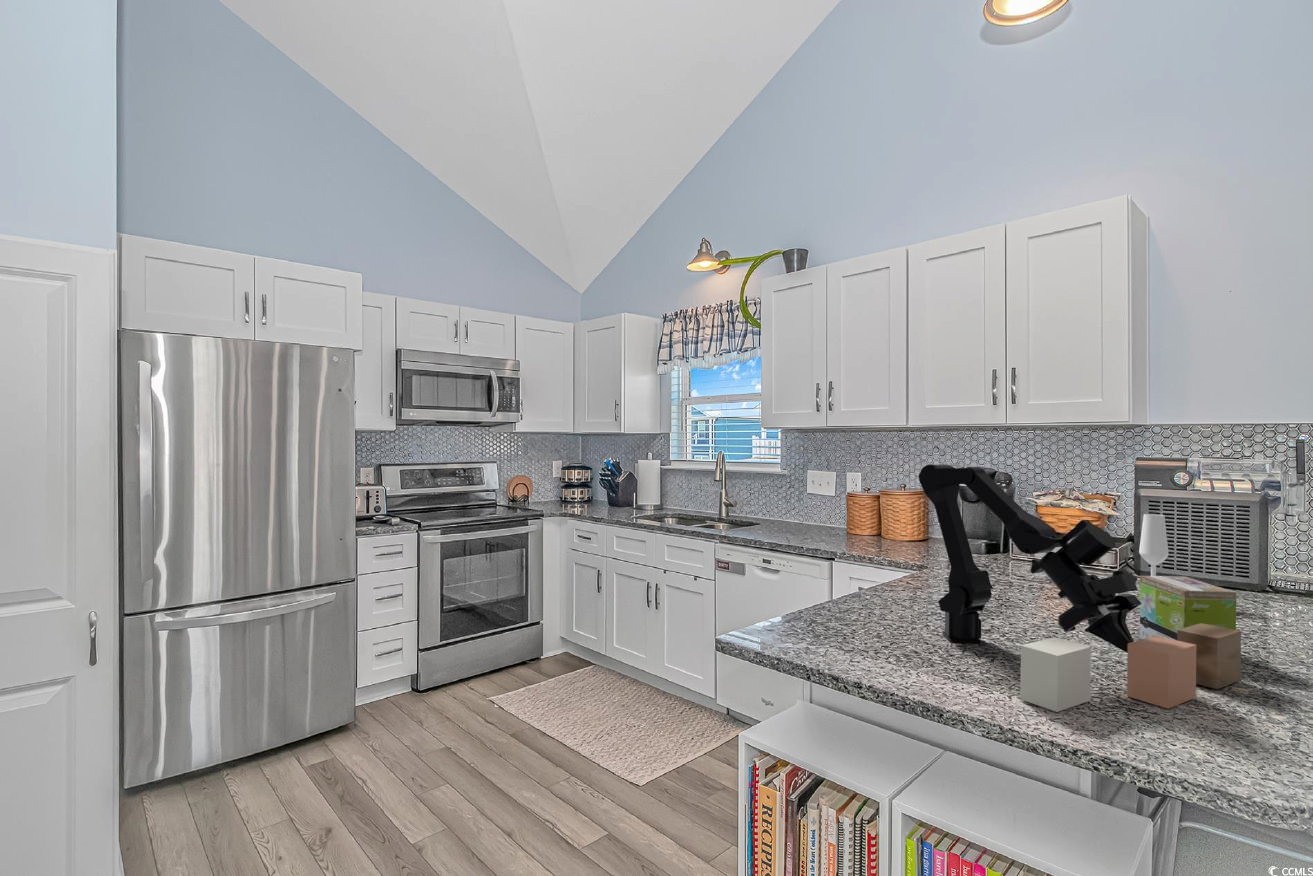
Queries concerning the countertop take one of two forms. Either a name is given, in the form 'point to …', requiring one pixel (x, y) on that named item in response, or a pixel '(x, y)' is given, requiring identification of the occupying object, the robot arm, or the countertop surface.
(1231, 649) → the walnut block
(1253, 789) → the countertop surface
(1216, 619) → the tea box
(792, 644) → the countertop surface
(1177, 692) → the terracotta block
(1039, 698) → the cream block
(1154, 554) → the champagne flute
